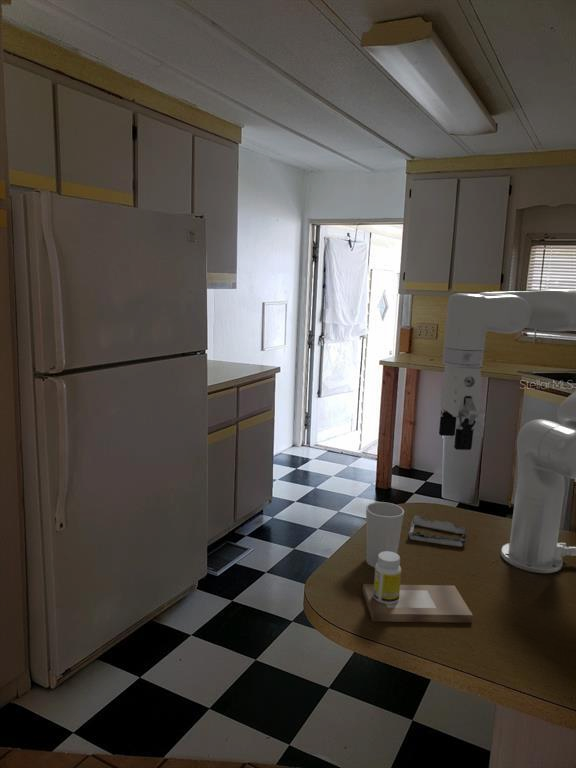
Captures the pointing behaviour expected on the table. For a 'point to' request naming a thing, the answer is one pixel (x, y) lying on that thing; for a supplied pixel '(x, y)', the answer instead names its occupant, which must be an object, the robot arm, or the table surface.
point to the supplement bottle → (387, 578)
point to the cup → (382, 529)
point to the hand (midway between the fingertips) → (454, 442)
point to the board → (420, 605)
